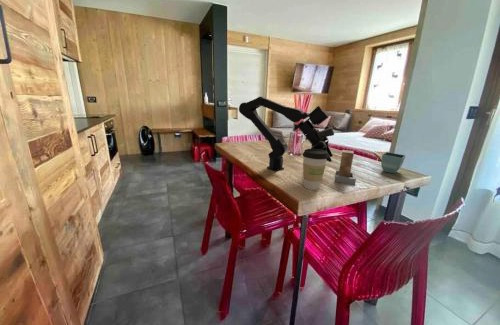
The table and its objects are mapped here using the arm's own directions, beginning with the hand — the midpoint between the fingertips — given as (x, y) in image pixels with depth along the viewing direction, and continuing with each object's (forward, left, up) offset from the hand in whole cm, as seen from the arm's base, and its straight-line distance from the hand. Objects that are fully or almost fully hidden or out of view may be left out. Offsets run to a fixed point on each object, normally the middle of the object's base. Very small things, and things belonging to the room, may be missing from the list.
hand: (331, 158), depth 98 cm
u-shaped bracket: (+3, -5, -9) cm, 11 cm away
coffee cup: (-16, -2, -9) cm, 19 cm away
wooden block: (+3, -5, -9) cm, 11 cm away
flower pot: (+35, -13, -9) cm, 38 cm away
